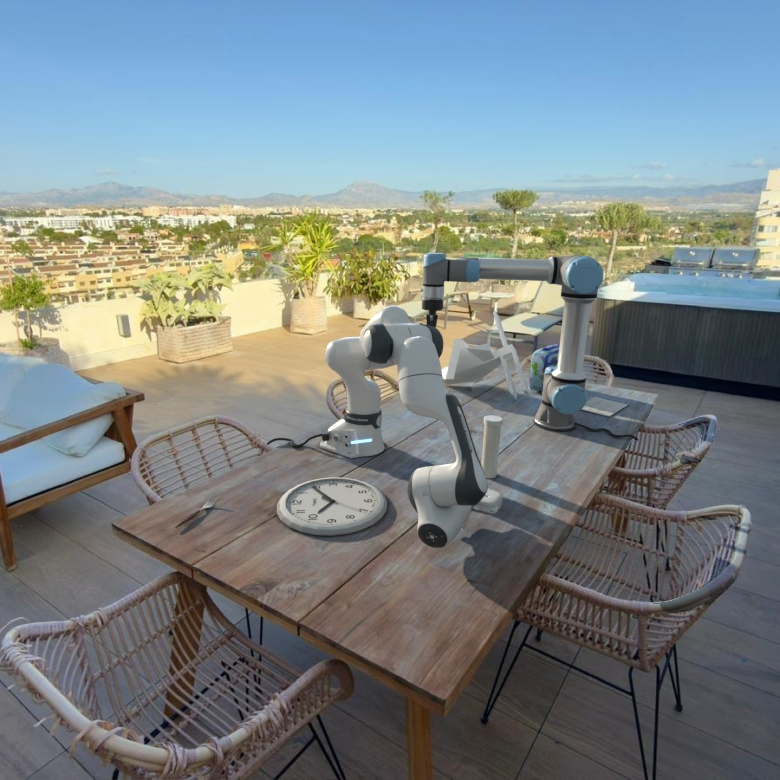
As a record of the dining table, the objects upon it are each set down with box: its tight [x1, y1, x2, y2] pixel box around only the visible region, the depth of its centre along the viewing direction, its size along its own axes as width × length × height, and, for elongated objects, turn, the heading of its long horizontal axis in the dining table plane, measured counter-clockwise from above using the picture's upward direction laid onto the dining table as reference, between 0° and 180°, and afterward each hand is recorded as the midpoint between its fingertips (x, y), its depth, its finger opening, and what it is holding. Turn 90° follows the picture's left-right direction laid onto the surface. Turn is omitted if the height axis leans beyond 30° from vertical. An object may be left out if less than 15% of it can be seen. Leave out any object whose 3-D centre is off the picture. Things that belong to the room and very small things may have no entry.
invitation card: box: [580, 396, 629, 418], centre depth 226 cm, size 21×1×15 cm
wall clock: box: [276, 476, 388, 537], centre depth 142 cm, size 30×2×30 cm
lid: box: [483, 414, 503, 427], centre depth 157 cm, size 5×5×2 cm
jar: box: [480, 423, 502, 479], centre depth 159 cm, size 5×5×18 cm
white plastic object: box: [441, 310, 531, 400], centre depth 245 cm, size 37×45×31 cm
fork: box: [174, 492, 220, 529], centre depth 137 cm, size 3×16×2 cm, turn 160°
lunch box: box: [528, 344, 560, 393], centre depth 247 cm, size 26×11×21 cm, turn 134°
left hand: (470, 482), depth 143 cm, fingers open, 8 cm apart
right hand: (430, 357), depth 190 cm, fingers open, 13 cm apart
